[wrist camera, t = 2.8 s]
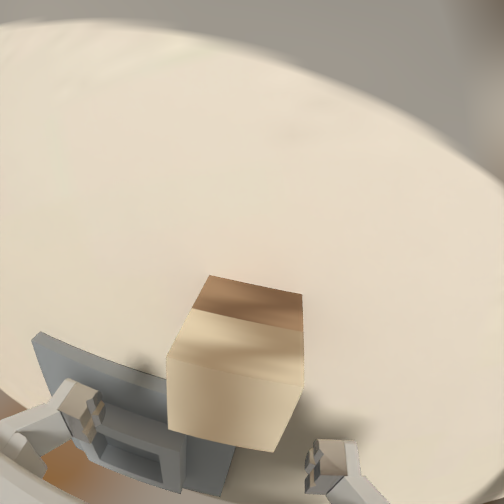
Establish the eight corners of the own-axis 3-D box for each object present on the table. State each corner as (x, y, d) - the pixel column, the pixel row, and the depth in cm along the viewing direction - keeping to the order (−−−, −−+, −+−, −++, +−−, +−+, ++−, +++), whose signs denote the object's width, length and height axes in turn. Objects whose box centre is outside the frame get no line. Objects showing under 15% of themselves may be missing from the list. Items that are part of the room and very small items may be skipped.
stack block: (301, 294, 15) (304, 386, 9) (281, 362, 16) (273, 452, 11) (209, 274, 15) (166, 357, 9) (201, 344, 17) (168, 429, 11)
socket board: (247, 399, 18) (240, 439, 15) (222, 487, 24) (216, 512, 21) (40, 331, 18) (16, 355, 16) (80, 439, 25) (68, 460, 22)
